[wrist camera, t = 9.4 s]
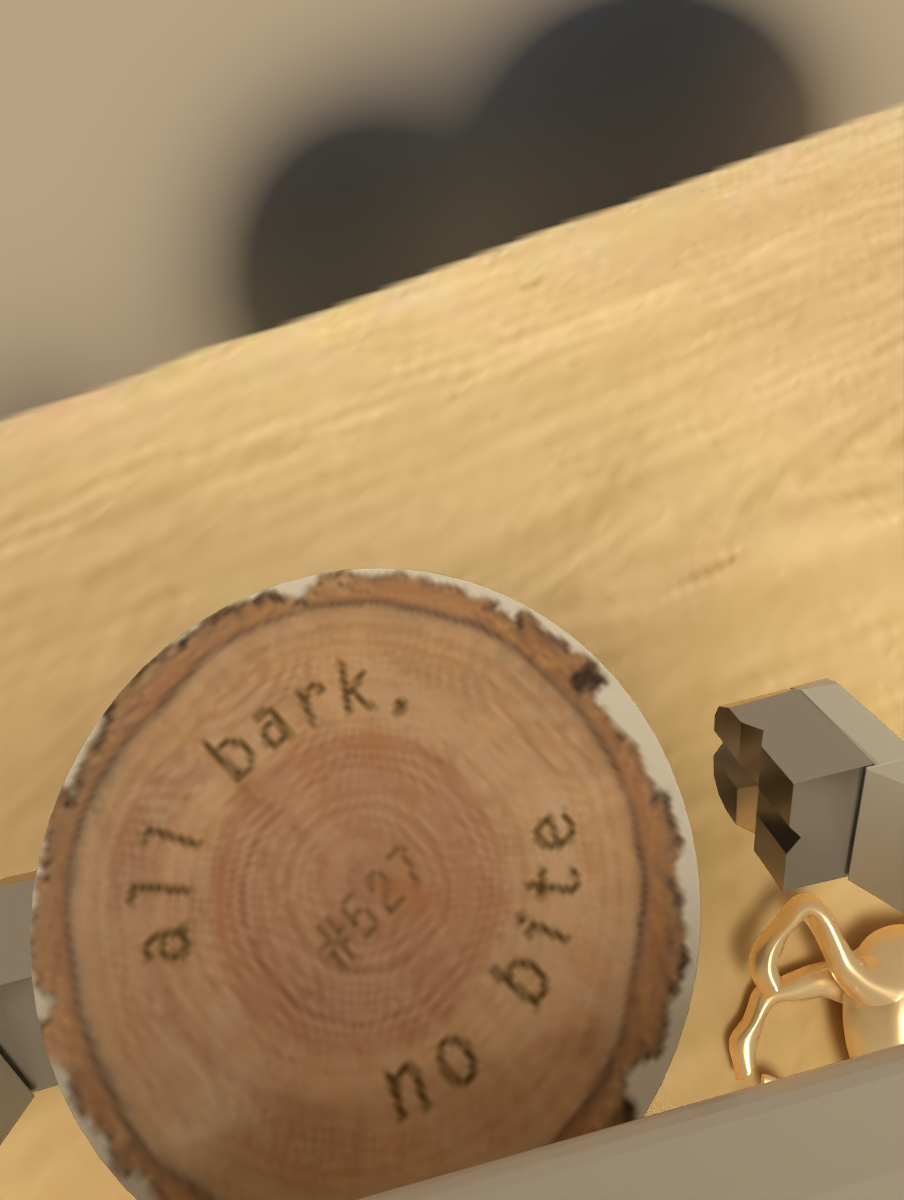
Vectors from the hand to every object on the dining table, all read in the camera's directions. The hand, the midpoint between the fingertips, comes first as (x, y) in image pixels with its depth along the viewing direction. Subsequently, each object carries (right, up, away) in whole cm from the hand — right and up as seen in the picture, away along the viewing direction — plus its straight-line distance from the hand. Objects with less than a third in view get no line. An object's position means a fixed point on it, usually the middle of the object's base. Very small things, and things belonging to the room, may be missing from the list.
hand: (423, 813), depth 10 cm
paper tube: (-2, -8, +22) cm, 23 cm away
